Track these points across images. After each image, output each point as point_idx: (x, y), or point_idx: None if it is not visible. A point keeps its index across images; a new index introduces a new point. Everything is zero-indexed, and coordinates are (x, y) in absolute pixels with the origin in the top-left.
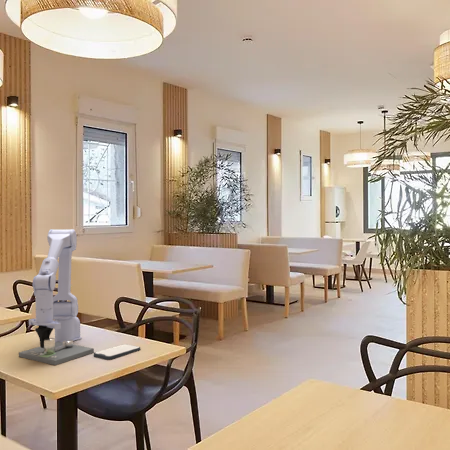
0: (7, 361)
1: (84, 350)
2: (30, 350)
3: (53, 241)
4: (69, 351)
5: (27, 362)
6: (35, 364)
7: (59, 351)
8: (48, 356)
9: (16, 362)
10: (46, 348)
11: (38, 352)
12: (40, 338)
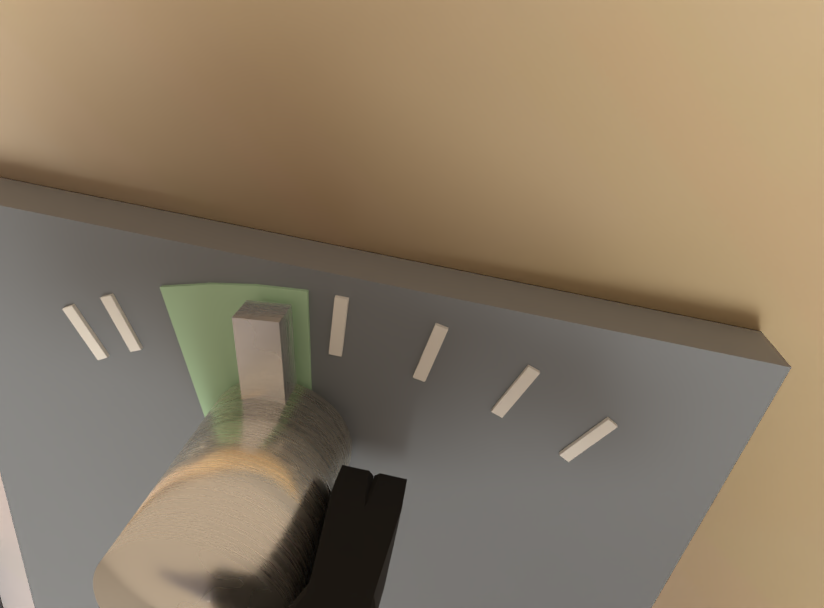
0: (813, 68)
1: (54, 585)
2: (656, 479)
3: None
4: None
5: (429, 147)
6: (241, 108)
7: None
8: (174, 315)
9: (605, 81)
10: (228, 431)
11: (470, 433)
12: (336, 603)
